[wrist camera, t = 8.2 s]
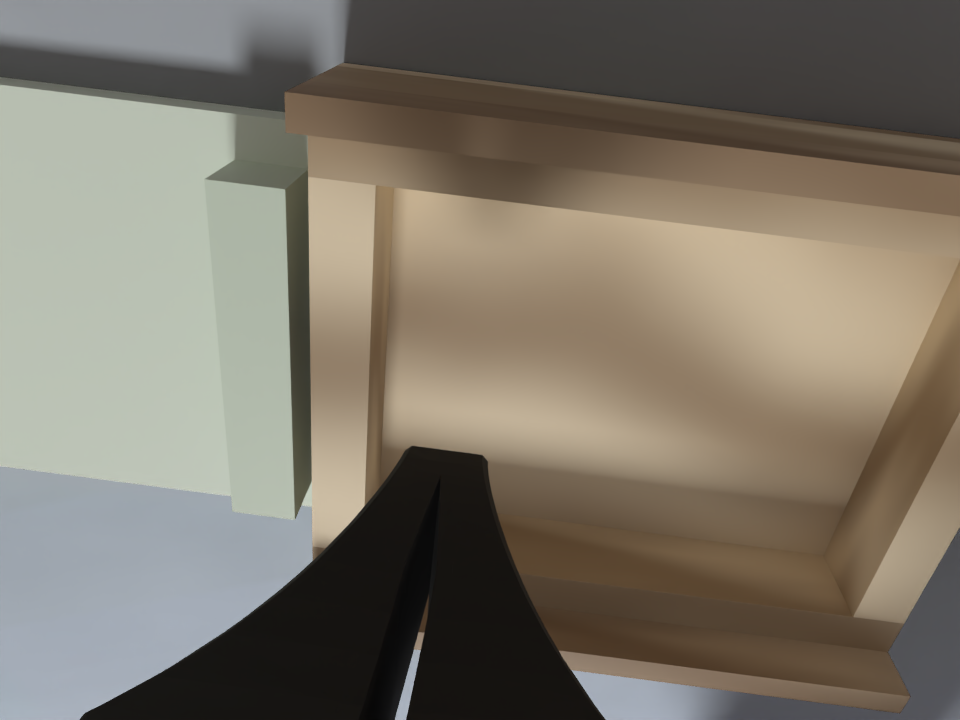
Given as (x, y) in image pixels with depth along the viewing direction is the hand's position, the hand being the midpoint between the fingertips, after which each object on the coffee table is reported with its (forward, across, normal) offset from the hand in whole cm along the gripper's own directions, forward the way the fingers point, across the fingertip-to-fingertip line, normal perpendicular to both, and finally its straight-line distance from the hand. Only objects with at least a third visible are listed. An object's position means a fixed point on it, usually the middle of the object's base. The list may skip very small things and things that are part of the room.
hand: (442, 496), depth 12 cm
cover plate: (+6, +9, 0) cm, 11 cm away
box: (+5, -4, 0) cm, 7 cm away
